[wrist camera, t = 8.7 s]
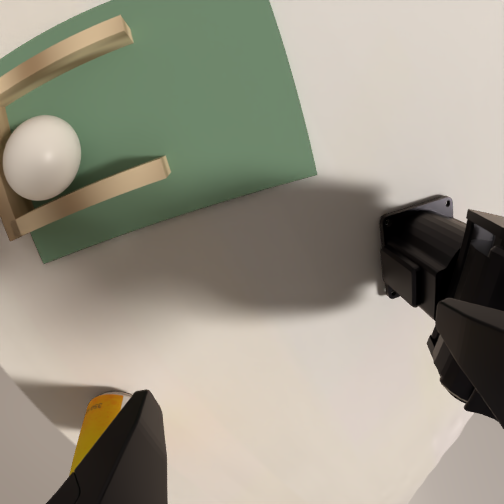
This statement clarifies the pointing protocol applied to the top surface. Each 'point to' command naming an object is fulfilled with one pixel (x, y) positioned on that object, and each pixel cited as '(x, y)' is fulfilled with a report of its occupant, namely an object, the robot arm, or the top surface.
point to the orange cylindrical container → (97, 421)
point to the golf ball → (41, 157)
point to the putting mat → (170, 112)
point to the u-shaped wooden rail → (36, 74)
